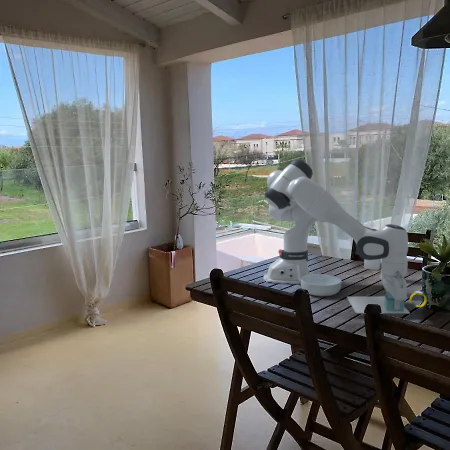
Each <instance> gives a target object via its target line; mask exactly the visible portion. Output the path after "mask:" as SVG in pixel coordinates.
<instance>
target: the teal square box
mask: <svg viewBox="0 0 450 450" xmlns="http://www.w3.org/2000/svg"><path fill="white" fill-rule="evenodd" d="M384 297H385V308H386V311H404V307H405V301H401V303H400V309H395V308H394V301H395V300H394V297H393V296H392V295H391V294H387V293H384Z"/></svg>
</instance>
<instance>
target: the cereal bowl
mask: <svg viewBox="0 0 450 450" xmlns="http://www.w3.org/2000/svg"><path fill="white" fill-rule="evenodd" d="M300 286H301V288H302V290H303V289H306V290H308V292H309V294H308V295H311V296H314V297H329V296H331V297H332V296H335V295H336V294H337V293H339V292H340V290H341V289H342V279H341V278H340V277H339V276H335V275H331V274H321V273H314V274H313V273H312V274H309V275H306V276H303V277H302V278H301V283H300Z"/></svg>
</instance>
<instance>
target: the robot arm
mask: <svg viewBox="0 0 450 450" xmlns="http://www.w3.org/2000/svg"><path fill="white" fill-rule="evenodd" d="M313 174H314V172H313V169H312V167H311V165H309V163H308V162H306V161H304V160H303V159H301V158H296V159H293V160H292V161H290V162H289V163H288V165H287V166H286V167H285V168H284V169H283V170H279V169H276V170H274V171H272V172H270V173H269V174H268V176H267V178H266V184H267V189H266V190H265V192H264V198H265V200H266V202H267V204H269V205H268V213H269V216H270V217H271V218H272V219H273V220H276V221H281V222H295V223H294V224H295V225H294V227H292V228H290V229H288V230H286V231H285V233H284V234H283V249H279V250H278V252H277V253H278V254H279V258H277V259H276V260H274V261H273V262H272V263H271V264H270V265H269V266H268V270H267V273H265V274H264V275H263V281H264V282H265V281H266V283H268V282H272V283H271V284H286V283H289V285H291V284H292V285H299V284H300V285H301V278H302V277H303V276H306V275H310V270H309V264H308V263H309V250H308V236H309V232H310V231H311V228H312V226H313V225H314V224H315V223H316V222H317V221H319V222H321V223H329V224H333V225H335V226H337V227H338V228H340V230H342V231H343V232H344V233H346V234H347V235H348V236H349V237H351V238H352V240H353V241H354V242H355V250H356V253H357V254H358V256H359V257H360V258H361V259H363V260H364V259H365V260H376V259H382V262H381V263H380V278H381V277H382V279H381V284H382V286H383V288H384V287H385V288H386V291H385V292H386V294H391V295H392V296H393V297H394V300H395V301H394V308H395V309H400V303H401V301H404V302H406V300H407V298H408V290H407V289H408V287H407V281H406V278H405V276H407V274H408V263H409V262H408V256H407V254H408V251H409V237H408V231H407V230H406V228H404V227H403V226H400V225H397V224H391V223H389V224H384V225H385V226H384V225H383V226H381V228H379V229H377V230H376V229H375V228H370V227H367V226H365V225H363V224H362V223H360V222H359V221H358V220H357V219H355V218H354V217H353V216H352V215H350V214H349V213H348V212H347V211H346V210H345V209H344V208H343V207H342V205H340V203H339V202H338V201H337V199H336V198H335V197H334V196H333V195H332V194H331V193H330V192H329V191H327V189H325V188H324V187H323V186H322V185H320V184H319V183H317V182H315V180H312V176H313ZM404 275H405V276H404ZM403 276H404V278H403Z"/></svg>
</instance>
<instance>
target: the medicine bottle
mask: <svg viewBox="0 0 450 450" xmlns="http://www.w3.org/2000/svg"><path fill="white" fill-rule="evenodd" d="M363 261H364V262H363V263H364V264H363V265H364V266H363V268H364V270H372V271H379V270H381V268H380V263H381V259H376V260H365V259H363Z"/></svg>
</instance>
